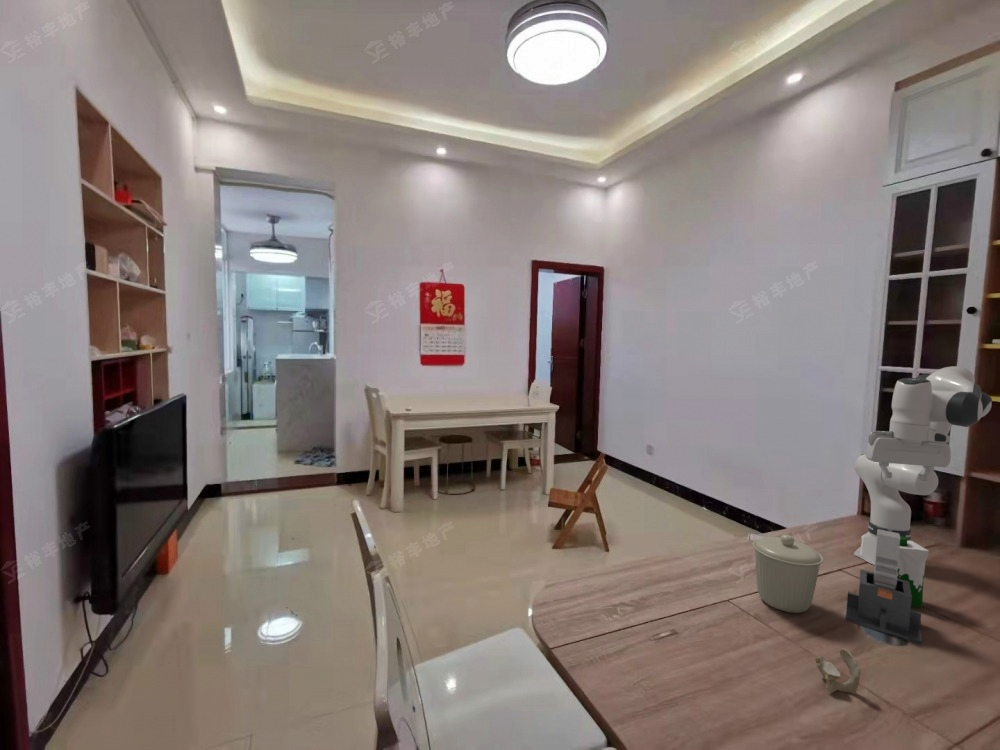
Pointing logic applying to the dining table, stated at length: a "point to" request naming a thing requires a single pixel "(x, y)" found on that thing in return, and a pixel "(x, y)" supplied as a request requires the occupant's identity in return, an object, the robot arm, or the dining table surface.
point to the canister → (786, 572)
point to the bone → (832, 673)
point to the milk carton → (912, 568)
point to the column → (886, 559)
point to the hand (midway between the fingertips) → (904, 479)
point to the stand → (884, 608)
